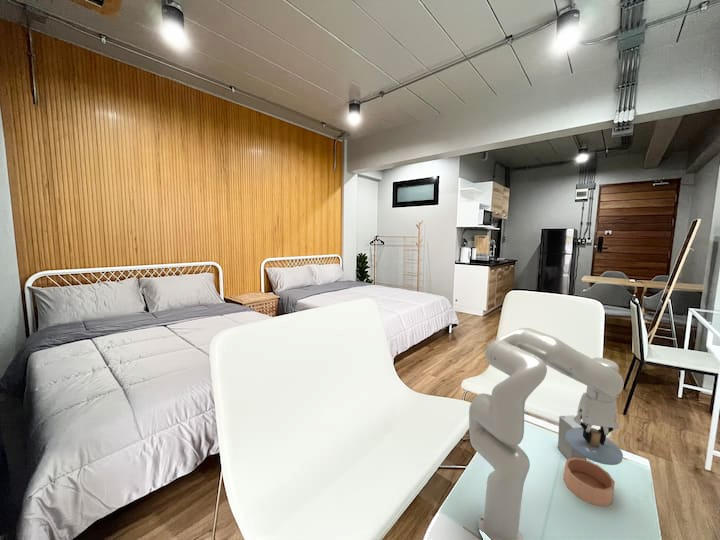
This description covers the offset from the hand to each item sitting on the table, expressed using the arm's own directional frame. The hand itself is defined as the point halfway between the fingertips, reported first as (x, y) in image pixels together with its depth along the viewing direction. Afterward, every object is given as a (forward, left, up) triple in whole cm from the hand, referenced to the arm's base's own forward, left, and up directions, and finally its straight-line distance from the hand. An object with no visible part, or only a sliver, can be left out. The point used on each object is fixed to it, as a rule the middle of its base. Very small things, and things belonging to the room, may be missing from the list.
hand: (593, 440), depth 103 cm
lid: (0, 0, -2) cm, 2 cm away
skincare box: (+16, -1, -19) cm, 25 cm away
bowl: (0, 0, -19) cm, 19 cm away
